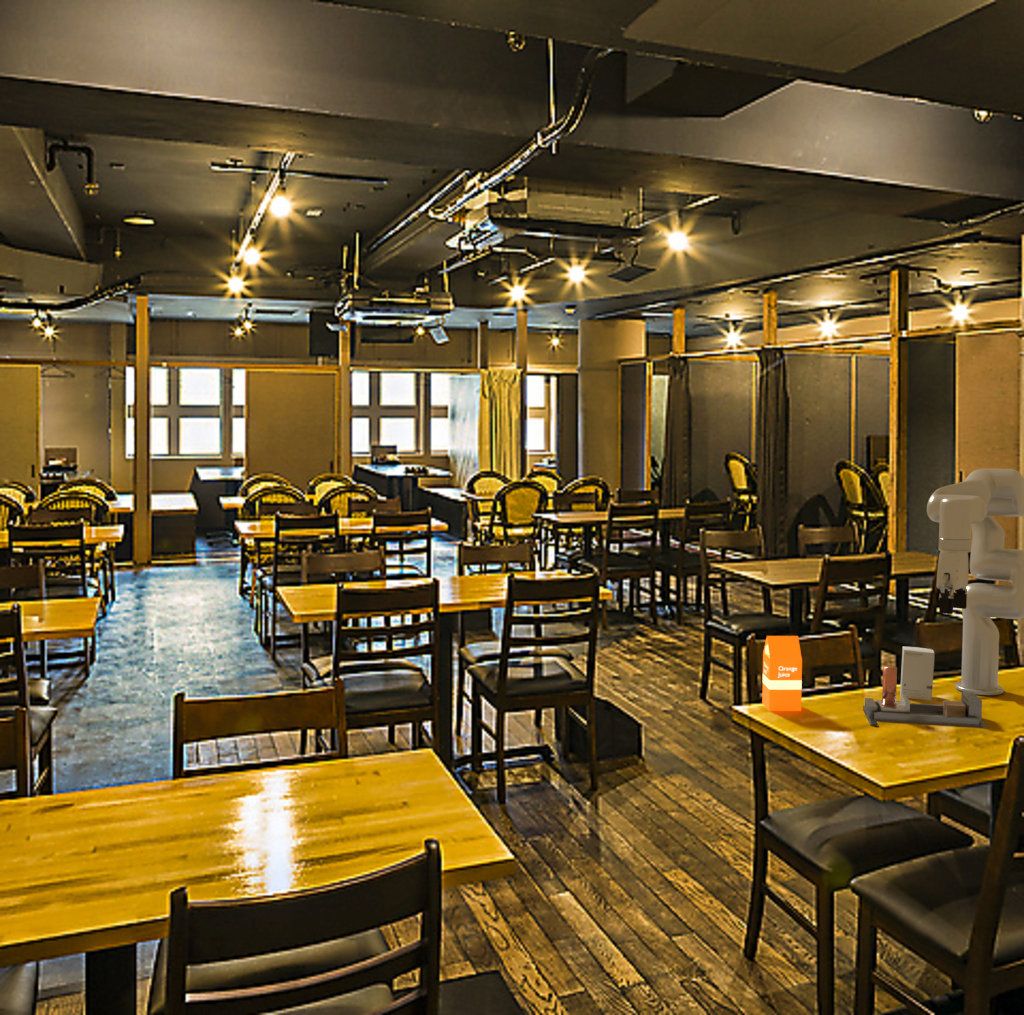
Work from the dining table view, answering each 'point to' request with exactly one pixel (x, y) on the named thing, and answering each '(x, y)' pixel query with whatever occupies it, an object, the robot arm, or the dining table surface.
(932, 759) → the dining table surface
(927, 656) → the skincare box
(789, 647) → the orange juice
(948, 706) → the brown wooden cube
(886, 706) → the ram
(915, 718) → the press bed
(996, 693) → the robot arm
